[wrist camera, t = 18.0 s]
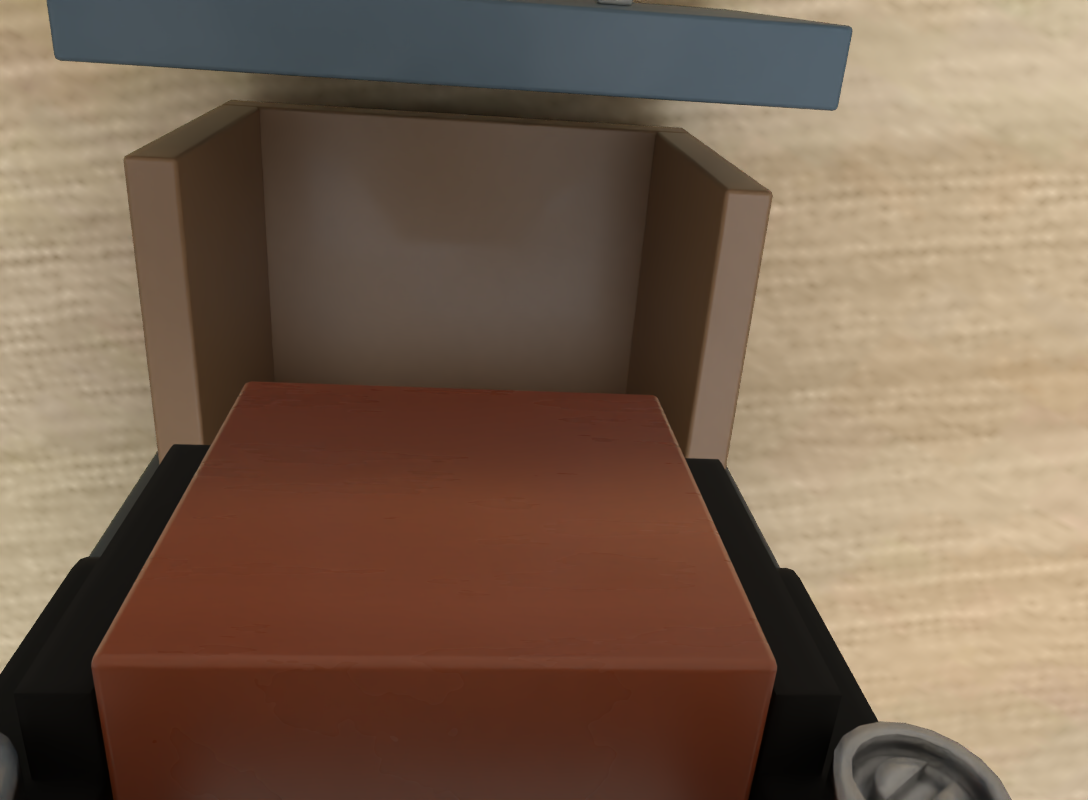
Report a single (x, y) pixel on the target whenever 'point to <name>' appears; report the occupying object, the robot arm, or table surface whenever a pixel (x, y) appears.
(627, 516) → the block
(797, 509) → the table surface
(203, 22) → the drawer
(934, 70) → the table surface
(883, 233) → the table surface
